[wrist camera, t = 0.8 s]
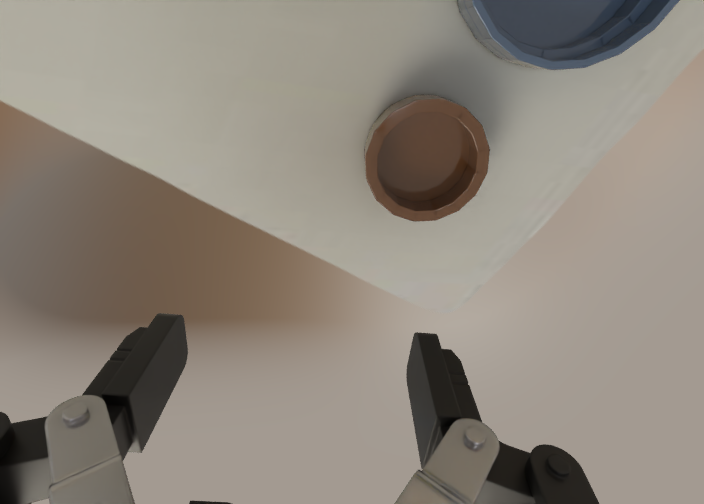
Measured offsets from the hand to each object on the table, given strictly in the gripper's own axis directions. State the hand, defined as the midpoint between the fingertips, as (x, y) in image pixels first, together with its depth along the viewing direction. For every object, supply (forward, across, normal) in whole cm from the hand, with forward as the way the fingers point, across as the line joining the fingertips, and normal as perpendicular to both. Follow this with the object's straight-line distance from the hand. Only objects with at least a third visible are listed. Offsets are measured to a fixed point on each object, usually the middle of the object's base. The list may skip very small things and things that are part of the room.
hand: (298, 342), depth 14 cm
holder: (+26, -8, -1) cm, 27 cm away
